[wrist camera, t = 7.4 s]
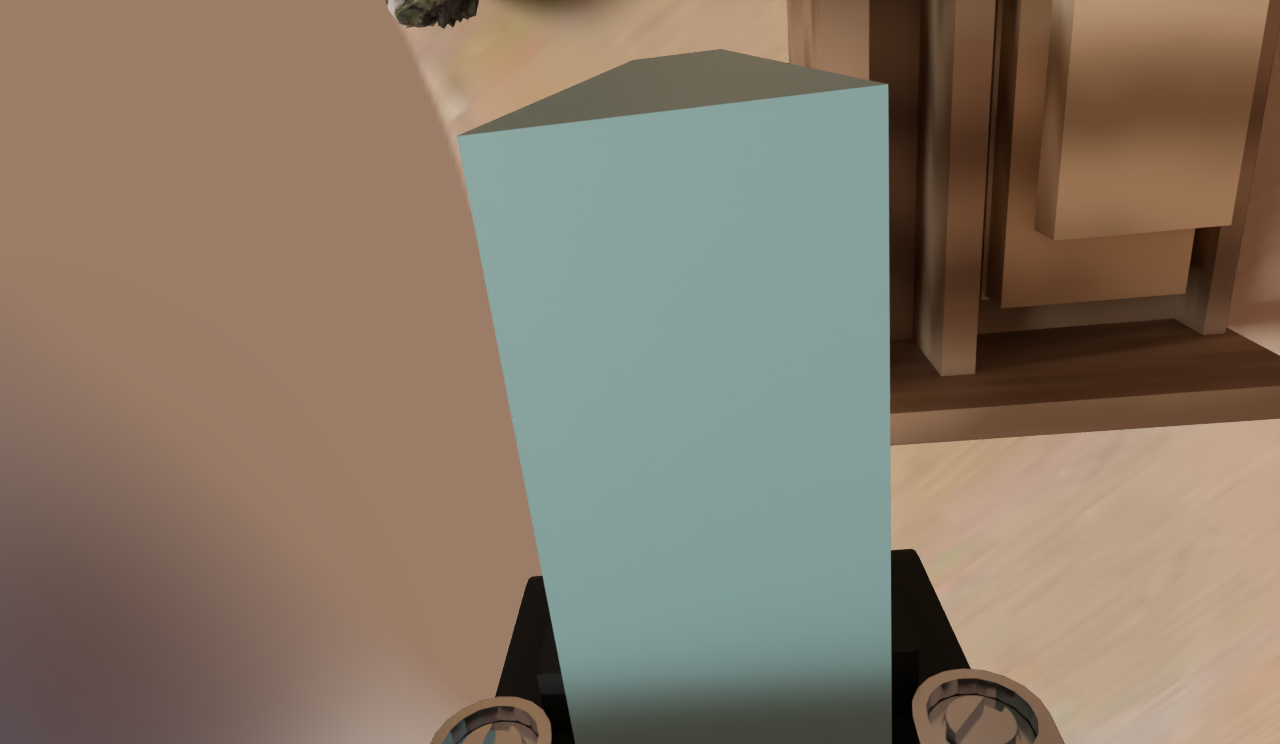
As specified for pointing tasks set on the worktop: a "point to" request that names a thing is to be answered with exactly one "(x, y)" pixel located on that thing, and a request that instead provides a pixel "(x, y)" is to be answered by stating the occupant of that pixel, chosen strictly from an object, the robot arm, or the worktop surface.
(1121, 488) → the worktop surface
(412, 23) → the mineral specimen
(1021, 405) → the walnut rack
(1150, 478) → the worktop surface
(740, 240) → the teal sheet
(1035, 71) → the offcut stack
